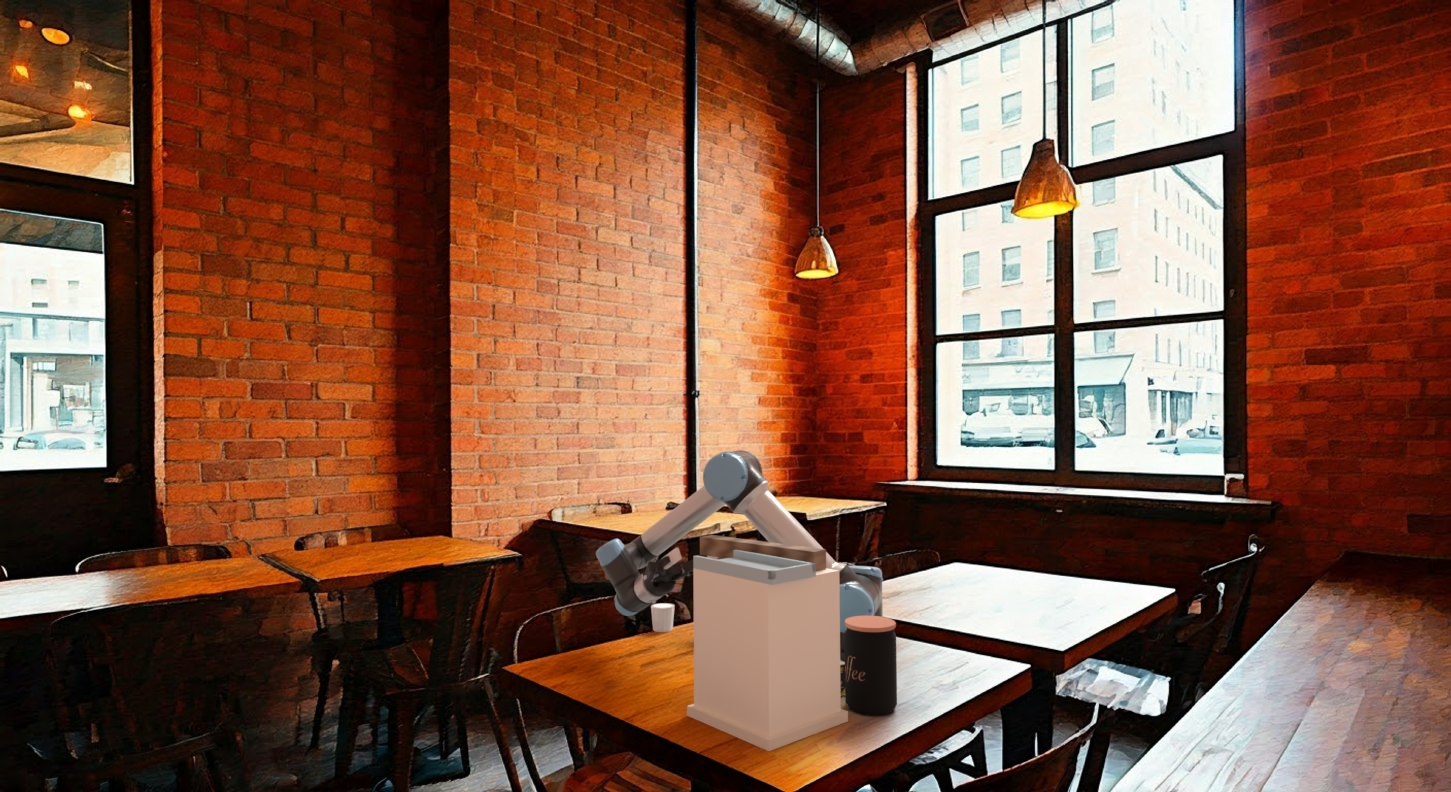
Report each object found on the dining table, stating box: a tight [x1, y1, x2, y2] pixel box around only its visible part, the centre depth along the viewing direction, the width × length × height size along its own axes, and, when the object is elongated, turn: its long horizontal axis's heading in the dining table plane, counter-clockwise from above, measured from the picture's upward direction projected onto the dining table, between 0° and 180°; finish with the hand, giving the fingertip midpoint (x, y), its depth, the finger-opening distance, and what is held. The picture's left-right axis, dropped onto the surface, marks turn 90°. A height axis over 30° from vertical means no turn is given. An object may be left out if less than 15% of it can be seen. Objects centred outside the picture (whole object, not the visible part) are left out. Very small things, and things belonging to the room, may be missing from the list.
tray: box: [692, 550, 816, 585], centre depth 161 cm, size 23×12×2 cm, turn 41°
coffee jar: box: [844, 616, 898, 717], centre depth 169 cm, size 11×11×18 cm
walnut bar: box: [699, 534, 827, 572], centre depth 173 cm, size 32×4×4 cm, turn 47°
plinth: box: [686, 568, 849, 752], centre depth 164 cm, size 24×22×30 cm
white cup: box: [650, 602, 675, 633], centre depth 233 cm, size 7×7×7 cm
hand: (702, 550), depth 189 cm, fingers open, 13 cm apart
